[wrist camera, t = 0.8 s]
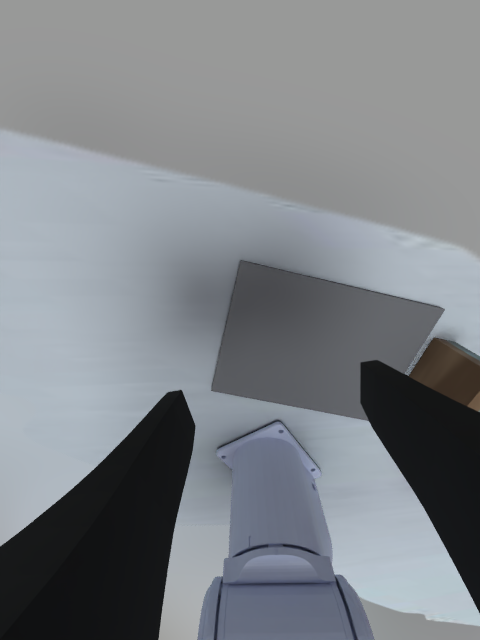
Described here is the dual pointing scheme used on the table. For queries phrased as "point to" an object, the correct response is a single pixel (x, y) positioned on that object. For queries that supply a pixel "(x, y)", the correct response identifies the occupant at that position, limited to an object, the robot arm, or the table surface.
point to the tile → (450, 372)
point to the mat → (313, 339)
